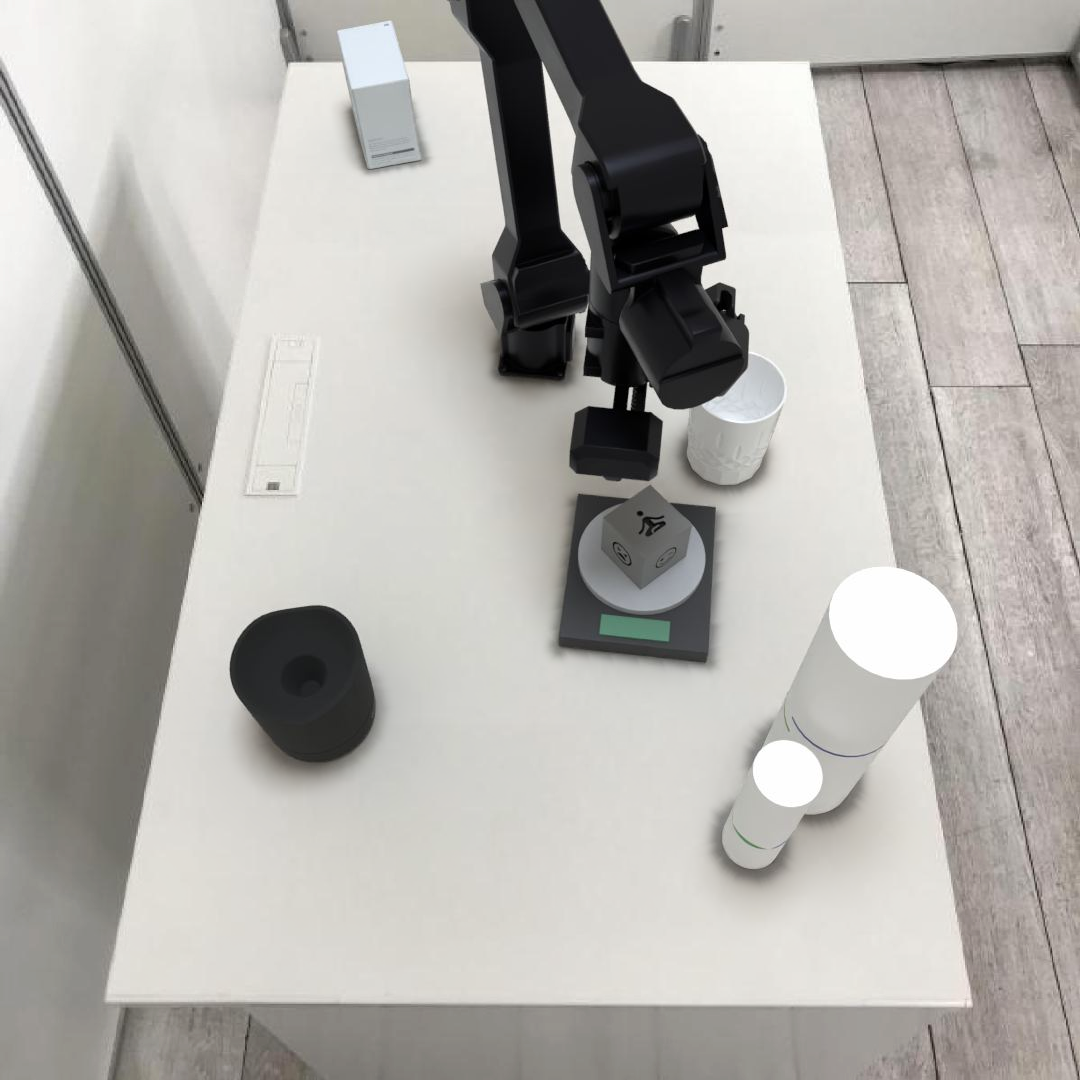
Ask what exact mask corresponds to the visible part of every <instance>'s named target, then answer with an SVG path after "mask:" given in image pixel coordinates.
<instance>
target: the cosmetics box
mask: <svg viewBox="0 0 1080 1080" xmlns="http://www.w3.org/2000/svg"><path fill="white" fill-rule="evenodd" d="M336 32H337V39H338V47H339V52H340V58H341V62H342V63H341V64H342V68H343V73H344V77H345V82H346V87H347V91H348V92H347V93H348V95H349V100H350V104H351V109H352V112H353V117H354V121H355V125H356V126H355V127H356V129H357V134H358V138H359V143H360V146H361V150H362V153H363V157H364V160H365V165H366V168H367V169H368V170H373V169H379V168H384V167H388V166H395V165H400V164H406V163H411V162H417V161H422V159H423V157H422V153H421V148H420V142H419V137H418V130H417V125H416V118H415V112H414V105H413V97H412V89H411V82H410V77H409V74H408V71H407V68H406V65H405V60H404V57H403V55H402V50H401V47H400V43H399V39H398V37H397V34H396V30H395V25H394V22H393V21H392V20H391V19H390V20H386V21H380V22H374V23H369V24H364V25H358V26H353V27H347V28H342V29H338V30H337V31H336Z"/></svg>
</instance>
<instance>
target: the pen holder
mask: <svg viewBox="0 0 1080 1080" xmlns="http://www.w3.org/2000/svg"><path fill="white" fill-rule="evenodd" d="M362 646H363V645H362V643H361V640H360V636H359V634H358V631H357V629H356V628H355V626H354V624H353V623H352V622H351V620H350V619H348V617H347V616H346V615H344V614H343V613H342V612H341V611H339V610H337V609H335V608H334V607H330V606H327V605H321V604H315V605H303V606H296V607H290V608H284V609H278V610H274V611H269V612H267V613H264V614H262V615H260V616H258V617H257V618H255V619H254V620H253V621H251V622H250V623H249V624H248V625H246V627H245V628H244V629H243V630H242V632H241V633H240V635H239V636H238V637H237V640H236V641H235V644H234V646H233V649H232V651H231V654H230V659H229V669H228V670H229V678H230V683H231V686H232V689H233V691H234V693H235V695H236V696H237V698H238V700H239V701H240V703H242V705H243V706H244V707H245V709H246V710H247V712H249V714H250V715H251V716H252V717H253V719H254V720H255V721H256V723H257V724H258V725H259V726H260V728H261V729H262V730H263V732H264V733H265V734H266V735H267V736H268V737H269V739H270V740H271V741H272V742H273V743H274V744H275V746H276V747H277V748H278V749H279V750H281V752H283V753H284V754H286V755H287V756H289V757H291V758H294V759H295V760H298V761H301V762H307V763H324V762H329V761H332V760H335V759H339V758H340V757H343V756H345V755H347V754H348V753H349V752H351V751H353V749H355V748H356V747H357V746H359V744H360V743H362V741H363V740H364V739H365V738H366V736H367V734H368V733H369V731H370V730H371V727H372V725H373V722H374V719H375V715H376V695H375V691H374V687H373V683H372V680H371V675H370V672H369V667H368V664H367V661H366V657H365V654H364V649H363V647H362Z"/></svg>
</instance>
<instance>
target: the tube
mask: <svg viewBox="0 0 1080 1080" xmlns="http://www.w3.org/2000/svg"><path fill="white" fill-rule="evenodd" d="M762 747H763V746H762ZM762 747H761V749H760V750H759V751H758V753H757V754H756V755H755V757H754V760H753V762H752V764H751V766H750V769H749V771H748V773H747V775H746V778H745V780H744V782H743V783H742V786H741V788H740V791H739V793H738V794H737V798H736V799H735V802H734V804H733V806H732V809H731V810H730V813H729V815H728V817H727V819H726V821H725V824H724V826H723V828H722V831H721V832H722V833H721V843H722V848H723V850H724V852H725V854H726V856H727V857H728V858H729V859H730V860H731V861H732V862H733V863H734V864H736V865H738V866H739V867H742V868H744V869H749V870H760V869H763V868H766V867H768V866H769V865H771V863H773V862H774V860H775V859H776V858H777V857H778V855H779V853H780V852H781V850H782V849H783V847H784V846H785V845H786V843H787V841H788V840H789V839H790V837H791V835H792V834H793V832H794V831H795V829H796V828H797V826H798V825H799V823H800V822H801V820H802V819H803V817H804V816H805V815H806V814H805V813H806V811H807V810H808V808H809V806H810V805H811V803H812V802H813V800H814V799H815V797H816V796H817V794H818V792H819V791H820V789H821V785H822V779H823V775H822V769H821V766H820V763H819V761H818V760H817V758H816V757H815V755H814V754H813V753H812V752H811V751H810V750H809V749H808V748H806V747H805V746H803V745H801V744H799V743H796V742H794V741H788V740H780V741H775V742H772V743H769V744H768V745H766V746H765V747H763V748H762Z"/></svg>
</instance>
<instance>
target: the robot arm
mask: <svg viewBox="0 0 1080 1080" xmlns="http://www.w3.org/2000/svg"><path fill="white" fill-rule="evenodd" d="M446 1H447V2H449V5H450V10H451V14H452V16H453V17H454V19H455V20H456V21H457V22H458V24H459V25H460V26H461V27H462V29H463V30H464V31H465V32H466V34H467V35H468V36H469V38H470V39H471V40H472V41H473V43H474V44H475V45H476V46H477V48H478V51H479V52H478V53H479V58H480V64H481V71H482V77H483V85H484V90H485V91H484V92H485V97H486V98H485V99H486V103H487V104H486V105H487V110H488V117H489V125H490V130H491V131H490V132H491V137H492V145H493V150H494V158H495V164H496V170H497V171H496V172H497V177H498V182H499V183H498V184H499V191H500V196H501V204H502V211H503V217H504V227H503V229H502V232H501V234H500V236H499V238H498V241H497V243H496V245H495V247H494V249H493V252H492V254H491V262H492V272H493V279H492V280H488V281H485V282H482V283H480V284H479V286H480V291H481V296H482V301H483V304H484V305H483V306H484V307H485V310H486V311H487V313H488V315H489V318H490V320H491V321H492V323H493V326H494V327H495V328H494V329H496V332H497V334H498V336H499V342H500V343H499V344H500V355H499V361H498V365H497V373H498V374H499V375H500V376H508V377H519V378H530V379H531V378H532V379H543V380H552V381H553V380H554V381H563V380H565V378H566V376H567V369H568V363H571V362H572V361H573V358H574V350H575V343H576V314H577V315H578V314H584V313H586V316H585V317H586V318H585V325H584V338H586V346H585V353H584V358H583V360H584V361H583V367H582V368H583V369H582V370H583V372H582V377H590V378H600V380H601V381H602V382H603V383H605V384H608V385H611V386H614V392H613V393H614V394H613V401H612V407H603V406H591V405H587V406H586V407H583V408H582V409H579V410H577V411H575V412H574V417H573V424H572V431H571V438H570V445H569V455H568V457H569V458H568V461H569V462H568V467H569V468H570V469H571V470H572V471H573V472H574V473H575V474H576V475H583V476H584V475H585V476H593V477H602V478H603V479H604V480H605V481H609V482H617V483H618V482H621V481H622V480H632V481H633V480H634V481H641V482H650V481H651V480H653V479H655V478H656V477H657V476H658V474H659V468H660V467H659V466H660V461H661V448H662V437H663V427H664V421H663V420H662V419H661V418H659V417H658V416H657V415H656V414H654V413H653V412H651V411H646V403H647V402H646V401H647V391H648V387H649V388H651V389H653V390H654V392H655V394H656V397H657V398H658V399H659V401H660V403H661V405H663V406H664V407H666V408H667V409H671V410H677V411H678V410H688V409H689V408H694V407H697V406H700V405H702V404H704V403H706V402H709V401H711V400H712V399H714V398H716V397H721V396H724V395H725V394H726V393H727V392H728V391H729V389H730V388H731V387H732V386H733V385H734V384H735V382H736V381H737V380H738V379H739V378H740V377H741V375H742V374H743V373H744V372H745V371H746V370H747V367H748V353H749V351H750V350H749V349H750V331H749V328H748V326H747V325H746V324H745V323H746V315H745V314H743V313H741V312H740V313H739V314H738V315H737V313H736V299H737V297H736V294H737V288H736V287H734V286H731V285H729V284H726V283H723V282H720V281H719V282H717V283H715V284H712V285H711V286H709V287H707V288H704V286H703V283H702V276H703V270H704V269H703V268H704V267H705V266H709V265H713V264H716V263H719V262H722V261H726V259H727V251H726V243H725V237H724V232H723V231H724V230H723V229H726V228H729V223H728V219H727V215H726V211H725V206H724V202H723V196H722V193H721V188H720V184H719V180H718V175H717V170H716V166H715V162H714V158H713V156H712V153H711V152H710V150H709V145H708V143H707V141H706V140H704V138H703V137H702V136H701V135H700V133H699V134H698V133H697V131H696V130H695V128H694V126H693V124H692V123H691V122H690V121H689V119H688V117H687V115H685V113H684V111H683V109H682V108H681V106H680V105H679V103H678V102H677V101H676V100H675V98H674V97H672V96H671V95H669V94H667V93H665V92H664V91H662V90H660V89H657V88H656V87H654V86H652V85H650V84H648V83H647V82H644V81H643V79H641V76H640V75H639V74H638V72H637V71H636V69H635V67H634V65H633V63H632V61H631V58H630V57H629V55H628V53H627V51H626V48H625V47H624V45H623V43H622V41H621V39H620V36H619V34H618V32H617V31H616V29H615V27H614V25H613V23H612V21H611V19H610V16H609V15H608V13H607V10H606V8H605V6H604V4H603V2H602V0H446ZM544 68H545V71H546V73H547V75H548V77H549V80H550V81H551V83H552V86H553V88H554V90H555V92H556V94H557V97H558V98H559V101H560V103H561V106H562V107H563V110H564V112H565V114H566V116H567V118H568V121H569V122H570V125H571V127H572V130H573V133H574V136H575V139H574V145H573V146H574V147H573V153H572V160H571V168H570V174H571V183H572V184H571V185H572V191H573V196H574V200H575V204H576V207H577V211H578V214H579V218H580V221H581V223H582V228H583V230H584V233H585V237H586V240H587V244H588V246H589V251H590V259H589V261H590V262H589V268H588V265H587V262H586V259H585V258H584V256H583V253H582V252H581V251H580V249H578V247H577V245H575V244H574V243H573V241H572V240H571V239H570V237H569V236H567V234H566V233H565V231H564V230H563V229H562V225H561V218H560V216H561V215H560V207H559V201H558V200H559V199H558V191H557V183H556V172H555V163H554V154H553V147H552V146H553V145H552V138H551V137H552V136H551V129H550V121H549V111H548V104H547V93H546V92H547V91H546V84H545V74H544ZM692 217H695V220H696V223H697V227H698V228H694V229H692V230H688V231H685V232H681V233H679V232H678V230H677V229H676V228H675V227H674V225H673V224H672V223H675V222H678V221H682V220H686V219H689V218H692ZM630 388H631V389H632V391H631V392H632V394H631V402H630V409H628V404H629V397H630V395H629V394H630Z"/></svg>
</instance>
